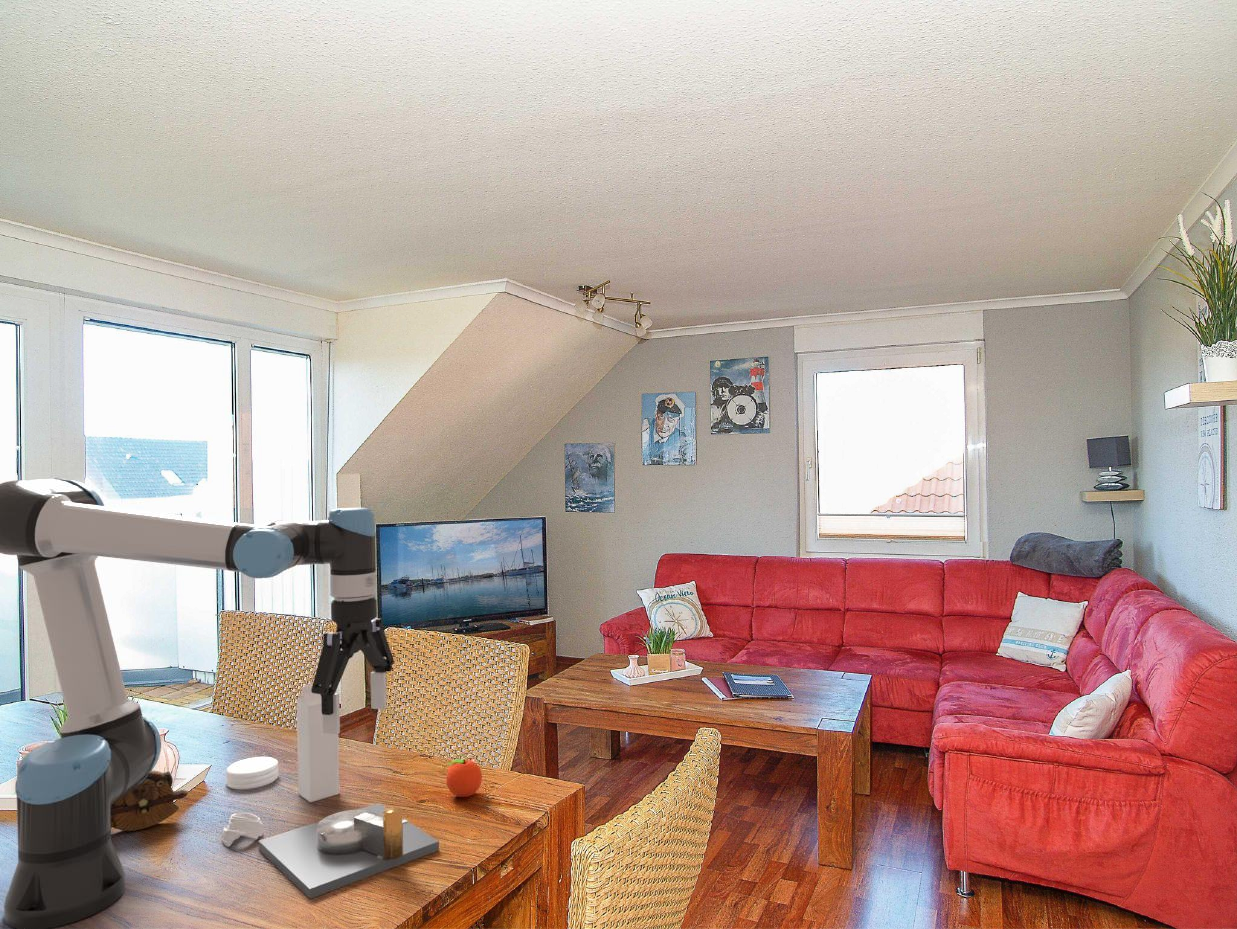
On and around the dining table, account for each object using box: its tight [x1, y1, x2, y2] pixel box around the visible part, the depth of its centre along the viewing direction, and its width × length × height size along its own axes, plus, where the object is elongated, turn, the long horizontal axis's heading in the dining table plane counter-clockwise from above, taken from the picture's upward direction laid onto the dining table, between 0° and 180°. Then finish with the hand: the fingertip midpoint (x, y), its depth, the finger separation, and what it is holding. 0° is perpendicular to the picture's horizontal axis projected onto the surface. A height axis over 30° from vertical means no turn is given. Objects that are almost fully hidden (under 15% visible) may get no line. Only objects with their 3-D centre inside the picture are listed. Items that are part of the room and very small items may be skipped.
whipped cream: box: [221, 812, 264, 847], centre depth 144 cm, size 8×7×5 cm
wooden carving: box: [111, 770, 189, 832], centre depth 148 cm, size 16×5×10 cm, turn 123°
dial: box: [317, 806, 403, 860], centre depth 137 cm, size 18×10×7 cm, turn 58°
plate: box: [258, 802, 440, 900], centre depth 139 cm, size 22×22×2 cm
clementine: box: [443, 759, 483, 798], centre depth 161 cm, size 8×7×7 cm
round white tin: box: [225, 756, 280, 790], centre depth 170 cm, size 10×10×4 cm
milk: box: [296, 684, 340, 803], centre depth 162 cm, size 6×6×22 cm
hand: (356, 720), depth 141 cm, fingers open, 13 cm apart
